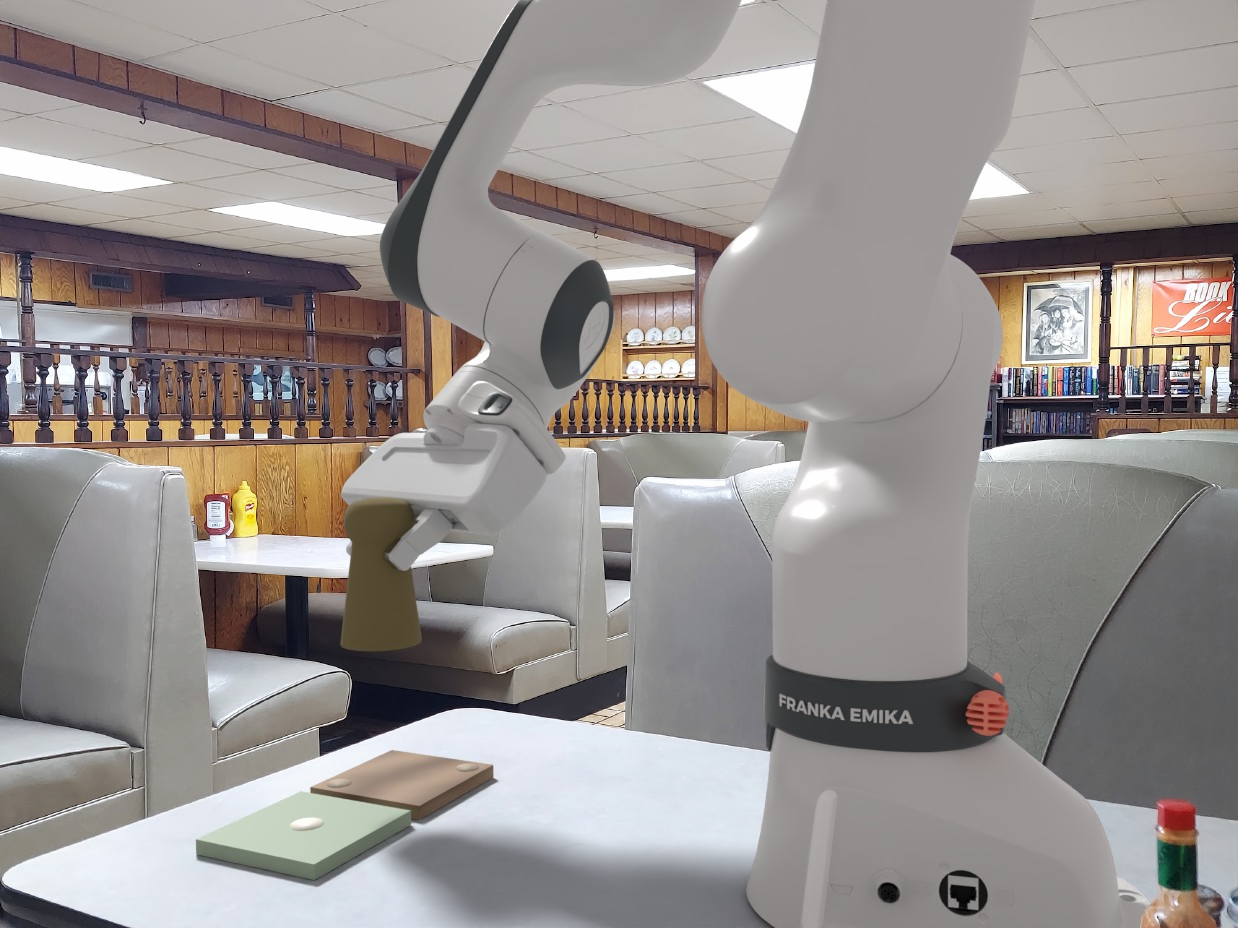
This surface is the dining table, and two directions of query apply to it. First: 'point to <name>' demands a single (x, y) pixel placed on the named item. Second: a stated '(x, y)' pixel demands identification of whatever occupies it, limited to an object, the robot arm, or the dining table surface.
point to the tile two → (407, 781)
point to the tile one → (304, 834)
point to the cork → (378, 579)
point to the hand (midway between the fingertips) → (373, 561)
